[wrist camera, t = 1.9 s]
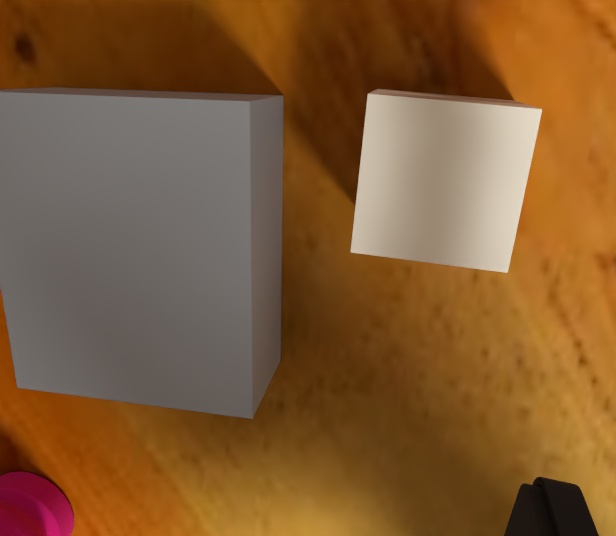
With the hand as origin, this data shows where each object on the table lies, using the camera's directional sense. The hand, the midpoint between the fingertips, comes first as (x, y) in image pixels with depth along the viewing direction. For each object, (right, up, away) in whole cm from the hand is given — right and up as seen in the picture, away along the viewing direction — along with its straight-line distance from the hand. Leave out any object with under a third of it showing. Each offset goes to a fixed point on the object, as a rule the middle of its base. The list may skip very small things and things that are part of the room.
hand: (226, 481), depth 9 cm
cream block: (+7, +9, +17) cm, 20 cm away
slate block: (-6, +6, +21) cm, 22 cm away
